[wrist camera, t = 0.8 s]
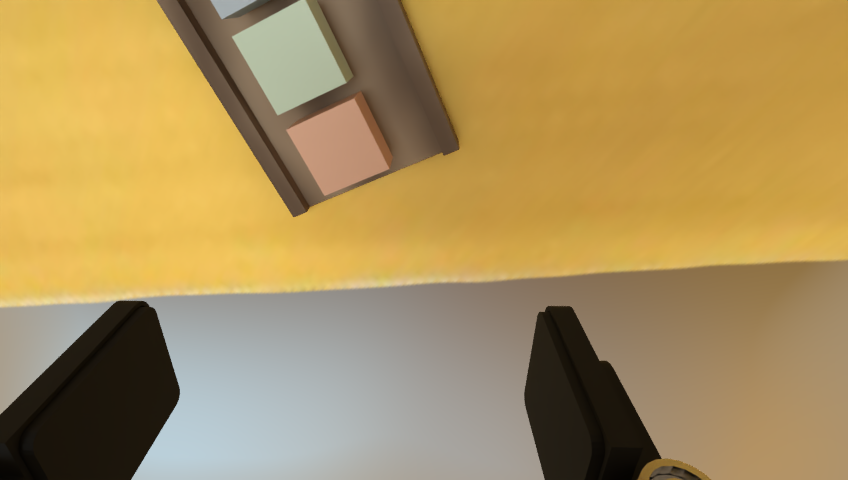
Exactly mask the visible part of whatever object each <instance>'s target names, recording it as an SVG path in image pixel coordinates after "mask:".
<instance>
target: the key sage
mask: <svg viewBox="0 0 848 480" xmlns="http://www.w3.org/2000/svg"><path fill="white" fill-rule="evenodd" d="M232 38H233V40H234V41H235V43H236V45H237V47H238V48H239V50H240V52H241V53H242V55H243V57H244V59H245V60H246V62H247V64H248V65H249V67H250V69H251V71H252V72H253V74H254V76H255V78H256V79H257V81H258V83H259V84H260V86H261V88H262V90H263V91H264V93H265V95H266V96H267V98H268V100H269V102H270V103H271V105H272V107H273V108H274V110H275V112H276V114H277V115H280V114H282V113H284V112H286V111H288V110H290V109H292V108H295V107H297V106H299V105H301V104H303V103H305V102H307V101H309V100H311V99H314V98H316V97H318V96H320V95H322V94H324V93H326V92H328V91H330V90H333V89H335V88H337V87H339V86H341V85H343V84H345V83H347V82H348V81H349V80H350V79H351V78H352V77H353V74H352V72H351V70H350V68H349V66H348V64H347V61H346V59H345V57H344V55H343V53H342V51H341V49H340V47H339V45H338V43H337V41H336V39H335V37H334V35H333V33H332V31H331V29H330V27H329V24H328V22H327V20H326V18H325V16H324V14H323V12H322V10H321V8H320V6H319V4H318V2H317V0H300V1H298V2H296V3H294V4H292V5H290V6H288V7H286V8H285V9H283V10H281V11H279V12H277V13H275V14H273V15H271V16H270V17H268V18H266V19H264V20H262V21H260V22H258V23H257V24H255V25H253V26H251V27H249V28H247V29H245V30H243V31H242V32H240V33H238V34H236V35H234V36H232Z"/></svg>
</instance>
